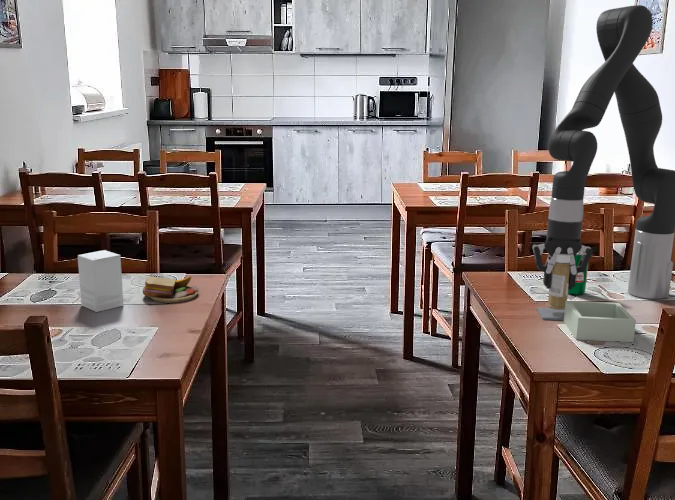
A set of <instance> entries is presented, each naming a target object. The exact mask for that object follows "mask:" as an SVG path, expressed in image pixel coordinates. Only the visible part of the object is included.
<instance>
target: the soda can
mask: <svg viewBox="0 0 675 500" xmlns="http://www.w3.org/2000/svg"><path fill="white" fill-rule="evenodd" d="M581 257H582V254H581V250H580V251H579V252H578V253H577V254H576V255H575V256H574V259H575V264H576V265H575V266H578V264H579V261H580V259H581ZM588 270H589V263H588V264H587V267H586V269H585V271H584V272H580V273H577V274H576V279H575V286H574V287H572V290H568V295H571V296H583V295H584V294H586V289H587V279H588Z"/></svg>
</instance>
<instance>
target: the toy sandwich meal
mask: <svg viewBox="0 0 675 500" xmlns="http://www.w3.org/2000/svg"><path fill="white" fill-rule="evenodd" d="M191 279H192V276H188V277H185V278H182V279H174V278H166V277H165V278H164V277H157V276H149V277H147V278H146V279H145V282H144V284H145V285H144V286H143V287H142V294H143V295H144V296H145V297H149V298H150V299H151V300H152V301H155V302H158V303H159V302H160V303H181V302H182V303H183V302H185V301H189V300H192V299H194V298H195V297H196V296H197V295H198V294H199V290H200V289H199V286H196V285H194V286H192V285H188V284H189V283H190V282H191Z"/></svg>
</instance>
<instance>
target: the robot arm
mask: <svg viewBox="0 0 675 500" xmlns="http://www.w3.org/2000/svg"><path fill="white" fill-rule="evenodd" d="M653 25H654V20H653V15H652V13H651V10H650V9H649V8H648V7H647V6H645V5H641V4H637V5H628V6H622V7H616V8H611V9H607V10H603V11H602V12H601V13H600V14H599V16H598V18H597V21H596V35H597V36H596V37H597V41H598V46H599V47H600V51H601V53H602V56H603V59H604V63H602V64H601V65H600V67H598V68H597V70H595V71H594V72H593V73H592V74H591V75H590V76H589V77H588V78H587V79H586V81H585V82H584V83H583V84H582V87H581V88H580V90H579V92H578V94H577V96H576V99H575V101H574V104H573V105H572V108H571V109H570V111H569V112H568V113H567V114H566V115H565V116H564V118H563V119H562V120H561V121H560V123H559V124H558V125H557V126H556V128H554V130H553V131H552V133H551V135H550V137H549V140H548V143H547V144H548V146H547V148H548V149H547V150H548V153H549V155H550V156H551V157H552V158H553V159H554V160H556V161H557V160H558V161H565V162H572V165H571V166H570V169H569V170H563V171H558V172H556V173H555V174H554V175H553V178H552V189H551V199H550V203H549V209H548V218H547V219H548V220H547V228H546V229H547V230H546V239H545V240H544V242H543V243H540V244H533V245H532V247H531V248H532V252H533V256H534V262H535V266H536V268H537V270H538V271H540V272H543V279H542V280H543V281H542V283H543V285H544V287H545V288H546V289H548V290H549V289H550V287H551V277H552V274H551V271H552V268H553V266H554V265H555V263H556V258H557V255H559V254H568V255H570V273H569V287H568V290H572V287H574V286H575V279H576V274H577V273H580V272H584V271H585V269H586V267H587V264H588V265H589V262H590V259H591V257H592V256H593V252H594V249H593V248H591V247H590V246H587V245H586V246H585V245H583V244H582V242H581V237H582V230H583V229H582V227H583V219H584V207H585V206H584V196H585V187H586V181H587V178H588V176H589V173H590V170H591V166H592V165H593V162H594V159H595V157H596V154H597V152H598V140H597V138H596V135H595V134H594V133H593V132H591V131H588V129H593V128H596V127H598V126H599V125H600V123H601V122H602V120H603V118H604V116H605V115H606V112H607V109H608V106H609V105H610V102H611V100H612V98H613V96H614V95H615V99H616V103H617V109H618V110H617V111H618V114H619V118H620V121H621V126H622V128H623V133H624V137H625V141H626V146H627V151H628V156H629V163H630V171H631V180H632V181H631V182H632V187H633V191H634V193H635V196H636V198H638V200H640V201H641V202H643V203H648V204H650V205H651V204H652V205H654V206H653V209H652V212H651V213H650V214H649V215H645V216H640V217H639V218H637V220H636V223H635V232H634V239H633V240H634V241H633V249H632V255H631V261H630V262H631V263H630V271H629V278H628V287H627V292H628V294H630V295H632V296H634V297H638V298H643V299H652V300H653V299H654V300H656V299H657V300H658V299H668V298H669V297H670V290H671V289H670V288H671V283H672V275H673V267H674V262H673V261H672V253H673V247H674V246H673V244H674V239H675V170H674V169H668V168H667V169H666V168H662V167H658V165H657V162H656V158H655V152H654V147H655V146H654V145H655V142H656V140H657V138H658V135H659V132H660V131H661V128H662V125H663V113H662V109H661V102H660V98H659V95H658V93H657V90H656V88H654V86H653V85H652V84H651V83H650V81H649V80H648V79H647V78H646V77H645V76H644V75H643V74H642V73H641V72H640V71H639V69H638V68H637V67H636V66H635V64H634V62H635V61H636V59H637V58H638V56H639V54H640V53H641V51H642V50H643V48H645V46H646V44H647V42H648V40H649V39H650V36H651V33H652V31H653ZM544 249H545V250H546V252H547V253H548V256H547V259H546V262H545V264H543V258H542V254H543V253H544ZM580 250H581V254H582V257H581V259H580V261H579V264H578V266H575V265H576V264H575V259H574V256H575V255H576V254H577V253H578V252H579V251H580ZM555 256H556V257H555Z"/></svg>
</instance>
